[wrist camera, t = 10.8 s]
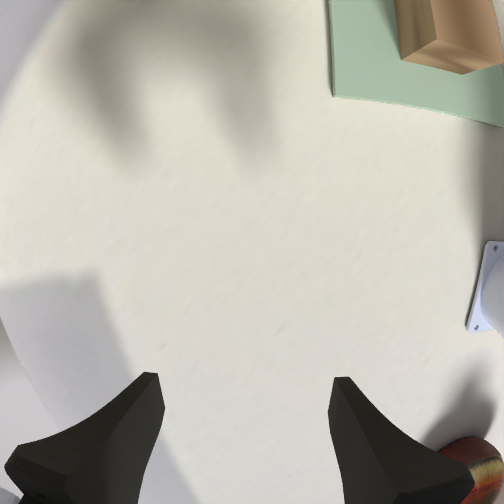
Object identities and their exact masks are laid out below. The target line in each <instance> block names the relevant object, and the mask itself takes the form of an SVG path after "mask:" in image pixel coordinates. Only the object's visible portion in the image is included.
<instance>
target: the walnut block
mask: <svg viewBox="0 0 504 504" xmlns="http://www.w3.org/2000/svg"><path fill="white" fill-rule="evenodd" d="M394 7H395V13H396V20H397V28H398V36H399V45H400V56H401V60H402V61H407V62H412V63H416V64H421V65H425V66H430V67H434V68H438V69H442V70H446V71H450V72H453V73H457V74H460V75H463V74H467V73H470V72H473V71H477V70H480V69H483V68H487V67H490V66H494V65H498V64H501V63H504V57H503V51H502V45H501V39H500V34H499V29H498V25H497V20H496V16H495V11H494V7H493V4H492V0H394Z"/></svg>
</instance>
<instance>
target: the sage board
mask: <svg viewBox="0 0 504 504" xmlns="http://www.w3.org/2000/svg"><path fill="white" fill-rule="evenodd" d="M328 6H329V19H330V35H331V54H332V81H333V97H336V98H347V99H357V100H366V101H374V102H382V103H389V104H396V105H403V106H409V107H415V108H420V109H426V110H431V111H436V112H441V113H446V114H450V115H455V116H459V117H463V118H467V119H471V120H475V121H479V122H483V123H487V124H490V125H494V126H497V127H504V76H503V67H502V63H501V64H498V65H494V66H490V67H487V68H483V69H480V70H477V71H473V72H470V73H467V74H463V75H460V74H457V73H453V72H450V71H446V70H442V69H438V68H434V67H430V66H425V65H421V64H416V63H412V62H407V61H402V60H401V56H400V45H399V36H398V28H397V20H396V13H395V7H394V0H328Z"/></svg>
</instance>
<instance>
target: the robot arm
mask: <svg viewBox="0 0 504 504" xmlns="http://www.w3.org/2000/svg"><path fill="white" fill-rule="evenodd" d="M494 246H495V249H494V250H493V248H494ZM475 326H476V327H475ZM494 329H495V330H496V331H497V332H498V333H499V334H500V335H501V336H502V337H503V338H504V241H488V242H487V243H486V245H485V249H484V255H483V260H482V265H481V270H480V275H479V280H478V284H477V288H476V293H475V297H474V301H473V305H472V308H471V312H470V316H469V319H468V323H467V326H466V330H467V331H468V332H469V333H474V332H481V331H488V330H494ZM164 411H165V405H164V400H163V396H162V391H161V387H160V382H159V377H158V373H150V372H143V373H142V374H141V375H140V376H139V377H138V378H137V379H135V380H134V381H133V382H132V383H131V384H130V385H129V386H128V387H127V388H126V389H124V390H123V391H122V392H121V393H120V394H119V395H118V396H116V397H115V398H114V399H113V400H112V401H110V402H109V403H108V404H106V405H105V406H104V407H103V408H101V409H100V410H99V411H97V412H96V413H94V414H93V415H91V416H90V417H88V418H87V419H85V420H83V421H82V422H80V423H78V424H76V425H74V426H72V427H70V428H68V429H66V430H64V431H62V432H60V433H57V434H55V435H52V436H50V437H47V438H44V439H41V440H37V441H34V442H30V443H25V444H21V445H18V446H17V447H16V449H15V450H14V452H13V453H12V455H11V456H10V458H9V459H8V461H7V462H6V464H5V466H4V468H5V471H6V473H7V475H8V476H9V477H10V479H11V480H12V481H13V482H14V483H15V485H16V486H17V487H18V488H19V489H20V490H21V492H22V493H23V494H24V495H23V497H22V499H20V498H19V497H18V496H16V495H15V494H13V493H11V492H10V491H8V490H6V489H4V488H2V487H0V504H138V499H139V494H140V489H141V484H142V480H143V476H144V472H145V469H146V466H147V463H148V461H149V458H150V455H151V453H152V450H153V447H154V445H155V442H156V439H157V437H158V434H159V431H160V428H161V425H162V420H163V416H164ZM328 418H329V427H330V434H331V438H332V442H333V445H334V449H335V453H336V457H337V461H338V465H339V469H340V473H341V478H342V483H343V492H344V501H345V504H461V503H462V501H463V500H464V499H465V498H466V497H467V496H468V495H469V494H470V492H471V491H472V489H473V488H474V485H475V480H474V478H473V476H472V474H471V472H470V470H469V468H468V467H467V465H466V464H465V463H462V462H459V461H457V460H454V459H451V458H448V457H446V456H443V455H441V454H439V453H437V452H435V451H433V450H431V449H429V448H427V447H425V446H424V445H422V444H420V443H419V442H417V441H415V440H414V439H412V438H411V437H409V436H408V435H406V434H405V433H404V432H403V431H401V430H400V429H399V428H397V427H396V426H395V425H394V424H392V423H391V422H390V421H389V420H388V419H387V418H386V417H385V416H384V415H383V414H382V413H381V412H380V411H379V410H378V409H377V408H376V407H375V406H374V405H373V404H372V403H371V402H370V401H369V400H368V398H367V397H366V396H365V395H364V394H363V393H362V391H361V390H360V389H359V388H358V387H357V385H356V384H355V383H354V382H353V381H352V379H351V378H350V377H334V382H333V388H332V393H331V398H330V404H329V409H328Z"/></svg>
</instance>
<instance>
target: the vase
mask: <svg viewBox="0 0 504 504" xmlns="http://www.w3.org/2000/svg"><path fill="white" fill-rule="evenodd" d="M438 453H439V454H441V455H443V456H446V457H448V458H451V459H454V460H457V461H459V462H462V463H465V464H466V465H467V467H468V468H469V470H470V472H471V474H472V476H473V478H474V480H475V485H474V488H473V489H472V491H471V492H470V494H469V495H468V496H467V497H466V498H465V499H464V500H463V501H462V503H461V504H494V503H495V501H496V500H497V499H498V497H499V495H500V493H501V491H502V488H503V485H504V461H503V458H502V456H501V454H500V453H499V452H498V450H497V449H496V448H495V447H494V446H493V445H492V444H490V443H489V442H488V441H486V440H484V439H481V438H477V437H467V438H463V439H460V440H457V441H455V442H453V443H451V444H449V445H448V446H446V447H444V448H443V449H441V450H440V451H439V452H438Z"/></svg>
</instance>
